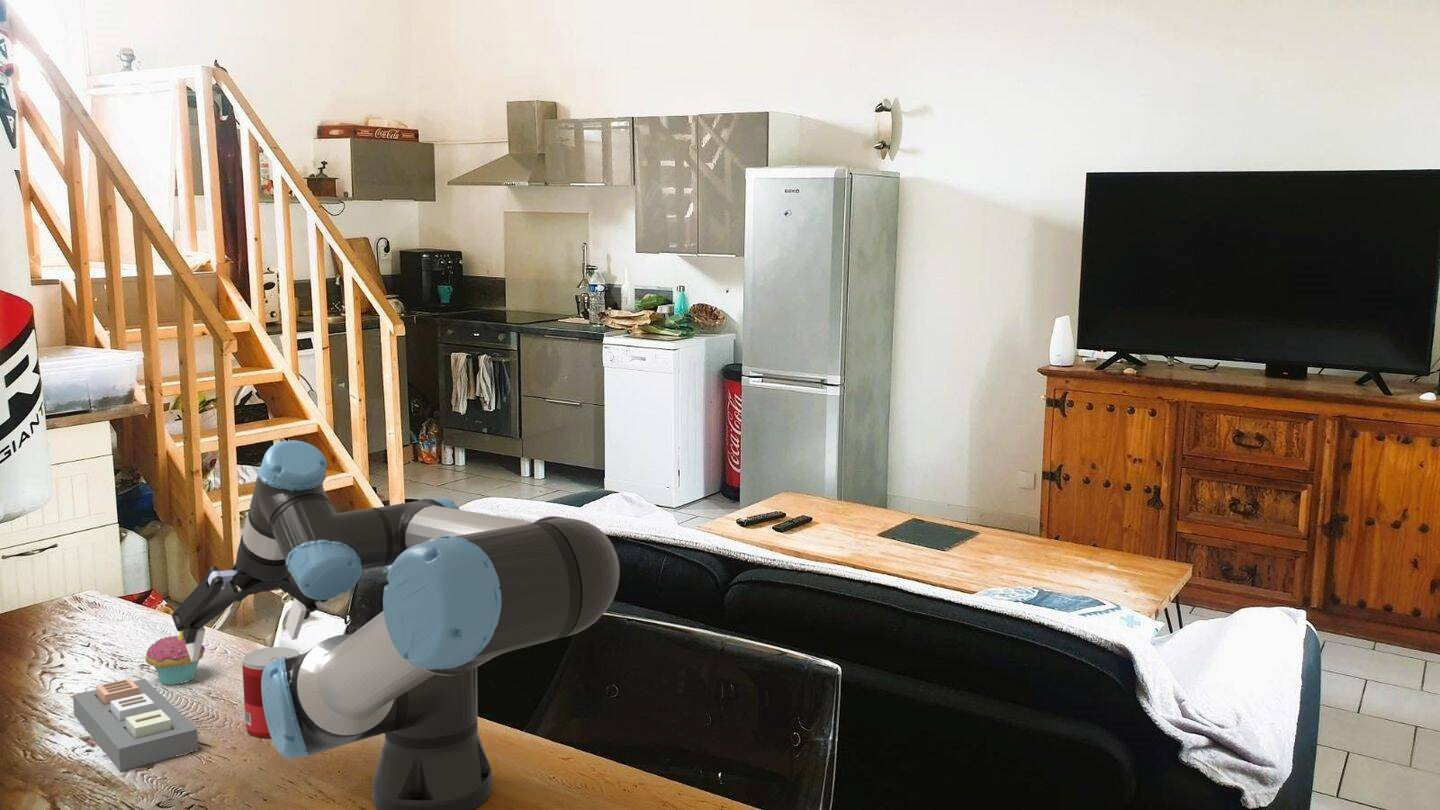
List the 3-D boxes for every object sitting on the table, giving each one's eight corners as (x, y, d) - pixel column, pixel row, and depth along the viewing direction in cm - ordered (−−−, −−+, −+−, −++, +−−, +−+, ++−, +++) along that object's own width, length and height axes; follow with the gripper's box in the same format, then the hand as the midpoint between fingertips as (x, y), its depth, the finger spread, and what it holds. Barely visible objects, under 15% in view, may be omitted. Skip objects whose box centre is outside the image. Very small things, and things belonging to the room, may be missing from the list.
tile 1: (171, 734, 163) (170, 718, 163) (136, 743, 160) (135, 727, 160) (161, 724, 166) (160, 708, 166) (126, 732, 163) (125, 716, 163)
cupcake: (216, 672, 192) (213, 601, 191) (184, 692, 184) (180, 618, 182) (169, 668, 194) (165, 598, 192) (135, 687, 185) (130, 614, 184)
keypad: (198, 750, 164) (197, 729, 163) (120, 771, 157) (118, 749, 156) (146, 698, 181) (144, 678, 181) (74, 715, 175) (72, 694, 174)
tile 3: (139, 701, 174) (138, 686, 174) (105, 709, 171) (104, 694, 171) (130, 692, 177) (129, 677, 177) (97, 699, 174) (96, 684, 174)
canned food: (284, 741, 167) (281, 667, 165) (233, 735, 169) (230, 662, 167) (313, 720, 174) (310, 649, 173) (264, 714, 176) (261, 644, 174)
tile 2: (155, 717, 169) (154, 701, 168) (120, 726, 166) (119, 710, 165) (145, 707, 172) (144, 692, 172) (111, 715, 169) (110, 700, 169)
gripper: (354, 505, 161) (320, 604, 173) (161, 534, 145) (138, 640, 156) (374, 546, 157) (339, 644, 169) (179, 580, 141) (154, 685, 153)
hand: (242, 642), depth 163 cm, fingers open, 13 cm apart
